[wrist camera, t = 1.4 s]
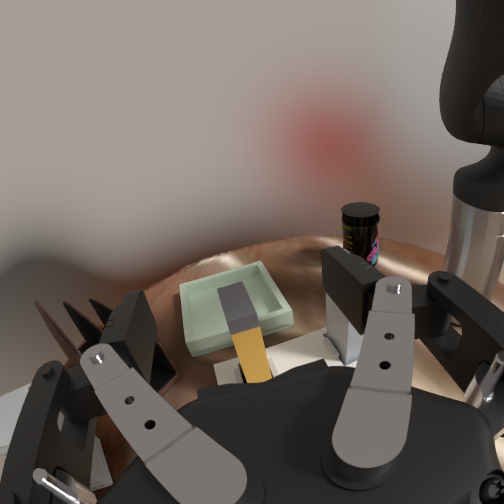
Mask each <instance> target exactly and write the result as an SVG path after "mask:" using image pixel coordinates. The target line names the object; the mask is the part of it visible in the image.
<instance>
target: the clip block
mask: <svg viewBox="0 0 504 504" xmlns="http://www.w3.org/2000/svg"><path fill="white" fill-rule="evenodd" d="M265 350H266V355H267V359H268V363H269V368H270V372H271V376H272V378H273V377H275V376H277V375H279V374H281V373H284V372H286V371H288V370H290V369H291V368H293V367H297V366H300V365H304V364H307V363H310V362H313V361H317V360H320V359H323V358H324V360H325V362H326V363H327V365H328V366H344V365H343V363H342V362H341V361H340V359H339V353H338V352H337V350H336V349H335V347H334V346H333V344H332V343H331V341H330V340H329V339H328V337H327V326H326V327H324V328H321V329H319V330H316V331H314V332H311V333H308V334H306V335H303V336H300V337H297V338H295V339H292V340H289V341H286V342H283V343H280V344H278V345H275V346H272V347H269V348H266V349H265ZM356 364H357V361H355V362H352V363H350V364H348V365H346V366H349V367H355V368H356ZM213 365H214V369H215V374H216V378H217V382H218V385H223V384H228V383H244V381H243V378H242V375H244V372H243V369H242V366H241V364H240V361H239V358H238V357H237V358H234V359H231V360H227V361H224V362H220V363H217V364H213Z"/></svg>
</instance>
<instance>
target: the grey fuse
mask: <svg viewBox="0 0 504 504" xmlns="http://www.w3.org/2000/svg"><path fill="white" fill-rule="evenodd" d="M343 250H345V251H346V252H347V253H348V254H349V253H350V252H348V251H347V250H346V249H343ZM326 318H327V337H328V339H329V340H330V341H331V343H332V344H333V346H334V347H335V349H336V350H337V352H338V353H339V359H340V361H341V362H342V363H343V365H344V366H346V365H348V364H350V363H352V362H355V361H357V360H358V357H359V353H360V349H361V345H362V341H363V337H364V334H363V335H359V333H358V332H357V331H356V329H355V328H354V327H353V326H352V324H351V323H350V322H349V321H348V319H347V318H346V317H345V315H344V314H343V313H342V312H341V310H340V309H339V308H338V307H337V305H336V304H335V303H334V302H333V300H332V299H331V298H330V297H329V295H328V294H327V293H326Z"/></svg>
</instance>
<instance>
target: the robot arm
mask: <svg viewBox="0 0 504 504" xmlns="http://www.w3.org/2000/svg"><path fill="white" fill-rule="evenodd" d="M439 102H440V113H441V117H442V121H443V123H444V125H445V127H446V129H447V131H448V132H449V133H450V134H451V135H452V136H453V137H455V138H457V139H459V140H462V141H465V142H469V143H477V144H483V145H490V146H491V149H490V152H489V154H488V155H487V156H486V157H485V158H483V159H482V160H480V161H479V162H477V163H474V164H472V165H468V166H465V167H462V168H460V169H458V170H457V171H456V173H455V175H454V182H453V198H452V210H451V220H450V228H449V236H448V243H447V249H446V255H445V261H444V266H443V271H436V272H433V273H431V274H430V275H429V277H428V283H427V285H420V286H411V284H410V282H409V281H408V280H406V279H404V278H401V277H396V276H390V277H386V276H384V275H383V274H382V273H381V272H379V271H378V270H377V269H376V268H374V267H372V265H371V264H369V263H368V262H367V261H366V260H364V259H363V258H362V257H360V256H358V255H355V254H352V253H349V254H348V253H347V252H346V251H345V250H343V249H342V248H341V247H340V246H334V247H330V248H325V249H322V251H321V260H322V276H323V285H324V288H325V291H326V293H327V294H328V295H329V297H330V298H331V299H332V300H333V302H334V303H335V304H336V305H337V307H338V308H339V309H340V310H341V312H342V313H343V314H344V315H345V317H346V318H347V319H348V321H349V322H350V323H351V324H352V326H353V327H354V328H355V329H356V331H357V332H358V333H359V335H363V334H364V337H363V341H362V345H361V349H360V353H359V357H358V360H357V364H356V368H355V367H349V366H328V365H327V363H326V362H325V360H324V358H323V359H320V360H317V361H313V362H310V363H307V364H304V365H300V366H297V367H293V368H291V369H290V370H288V371H286V372H284V373H281V374H279V375H277V376H275V377H273V378H271V379H269V380H267V381H264V382H258V383H228V384H223V385H218V386H213V387H208V388H202V389H197V392H198V399H196V400H194V401H192V402H190V403H188V404H186V405H184V406H183V407H181V408H180V409H179V410H177V411H175V410H174V409H173V408H172V407H171V406H170V405H169V404H168V403H167V402H166V401H165V400H164V399H163V398H162V397H161V396H160V395H159V394H158V393H157V392H156V391H155V390H154V389H153V388H152V387H151V386H150V377H151V369H152V361H153V354H154V347H155V341H156V334H157V327H156V322H155V319H154V317H153V314H152V312H151V309H150V307H149V304H148V302H147V299H146V296H145V294H144V292H143V291H142V290H138V291H134V292H130V293H126V294H125V296H124V298H123V301H122V303H121V305H120V306H117V307H116V308H115V309H114V310H113V311H112V312H111V314H110V316H109V319H108V322H107V323H106V326H105V327H106V328H104V331H103V333H102V336H101V338H100V341H99V344H97V345H94V346H92V347H90V348H89V349H87V350H86V351H85V352H84V353H83V355H82V356H81V359H80V364H79V365H77V366H74V367H71V368H68V369H66V370H65V368H64V367H63V365H62V364H61V363H60V362H59V361H50V362H47V363H45V364H44V365H42V366H41V367H40V368H39V369H38V371H37V372H36V374H35V376H34V379H33V381H32V383H31V386H30V388H29V391H28V393H27V396H26V398H25V401H24V403H23V406H22V409H21V411H20V414H19V417H18V420H17V423H16V426H15V429H14V432H13V435H12V438H11V442H10V445H9V448H8V452H7V456H6V460H5V464H4V468H3V473H2V477H1V481H0V504H504V472H503V470H502V468H501V466H500V463H499V461H498V457H497V453H496V448H495V442H494V441H495V440H496V439H498V438H499V437H504V312H502V311H501V310H500V309H499V308H498V307H496V306H495V305H494V304H493V303H491V300H492V297H493V294H494V291H495V288H496V285H497V282H498V279H499V276H500V272H501V269H502V265H503V262H504V0H456V16H455V25H454V31H453V37H452V41H451V44H450V48H449V52H448V55H447V59H446V63H445V66H444V71H443V74H442V79H441V84H440V98H439ZM450 323H454V324H456V325H460V326H461V328H462V336H461V335H460V334H459V333H458V332H457V331H456V330H455V329H454V328H453V327H452V326H451V325H450ZM414 339H420V340H421V341H422V342H423V343H424V345H425V346H426V347H427V348H428V349H429V351H430V352H431V353H432V354H433V355H434V356H435V358H436V359H437V360H438V361H439V362H440V364H441V365H442V366H443V367H444V369H445V370H446V371H447V372H448V373H449V375H450V376H451V377H452V378H453V380H454V381H455V382H456V383H457V385H458V386H459V387H460V389H461V390H462V391H463V392H464V401H465V402H461V401H458V400H454V399H451V398H447V397H444V396H440V395H437V394H434V393H430V392H427V391H424V390H421V389H418V388H414V387H411V384H412V372H413V358H414ZM60 412H61V413H62V414H63V416H64V420H63V424H62V429H61V432H60V430H59V427H58V416H59V413H60ZM107 413H108V414H109V416H110V417H111V419H112V420H113V422H114V423H115V425H116V426H117V427H118V429H119V430H120V432H121V433H122V434H123V436H124V437H125V438H126V440H127V441H128V443H129V444H130V445H131V446H132V448H133V449H134V450H135V452H136V453H137V454H138V456H137V457H136V458H135V459H134V460H133V461H132V463H131V464H130V465H129V466H128V467H127V468H126V469H125V471H124V472H123V473H122V474H121V475H120V476H119V477H118V478H117V480H116V481H115V482H114V483H113V484H112V485H111V486H110V487H109V488H108V490H107V491H106V492H105V493H104V494H103V495H102V496H101V497H100V498H99V500H98V501H97V499H96V496H95V494H94V493H93V491H92V490H91V489H90V481H91V468H92V458H93V449H94V440H95V433H96V426H97V419H98V416H101V415H104V414H107Z"/></svg>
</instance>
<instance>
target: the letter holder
mask: <svg viewBox="0 0 504 504" xmlns="http://www.w3.org/2000/svg"><path fill="white" fill-rule="evenodd" d="M89 301H90V303H91V304H92V306H93V308H94V309H95V311H96V313H97V314H98V316H99V318H100V319H101V321H102V323H103V324H104V326H106V323H107V322H108V319H109V316H110V314H111V312H112V311H113V310H114V309H111V308H110V307H109V306H107V305H105V304H104V303H102V302H100V301H98V300H96V299H94V298H90V299H89ZM34 304H35V305H36V307H37V309H38V311H39V312H40V314H41V315H42V318H43V319H44V321H45V323H46V325H47V327H48V328H49V330H50V331H51V333H52V335H53V336H54V338H55V339H56V341H57V342H58V344H59V345H60V347H61V348H62V350H63V351H64V353H65V354H66V356H67V357H68V359H69V360H70V361H71V362H72V363H73V365H74V366H77V365H79V364H80V359H81V356H82V355H83V353H84V352H85V351H86V350H87V349H89V348H90V347H92V346H94V345H97V344H99V341H100V338H101V336H102V333H103V331H104V328H106V327H104V328H103V329H101V328H100V327H98V326H97V325H96V324H95V323H94V322H93V321H91V320H90V319H89V318H88V317H87V316H85V315H84V314H83V313H82V312H81V311H79V310H78V309H77V308H76V307H74V306H73V305H71V304H70V303H69V302H67V301H65V300H64V302H63V304H64V306H65V308H66V310H67V311H68V313H69V315H70V317H71V318H72V320H73V321H74V323H75V325H76V326H77V328H78V329H79V331H80V333H81V334H82V336H83V337H84V339H85V340H86V341H87V343H85V344H84V345H83V346H82V347H81V348H80V349H77V348H76V347H75V345H74V344H73V343H72V342H71V340H69V338H68V337H67V336H66V335H65V334H64V332H63V331H62V329H61V328H60V327H59V326H58V325H57V323H56V322H55V321H54V320H53V318H52V317H51V316H50V315H49V314H48V312H47V311H46V310H45V309H44V308H43V307H42V306H41V304H40V303H39V302H38V301H35V302H34ZM180 377H181V375H180V373H179V371H178V369H177V368H176V366H175V365H174V363H173V362H172V360H171V358H170V357H169V355H168V354H167V352H166V350H165V348H164V347H163V345H162V344H161V343H160V341H159V340H158V339H157V338H156V341H155V347H154V354H153V361H152V369H151V377H150V386H151V387H152V388H153V389H154V390H155V391H156V392H157V393H158V394H159V395H160V396H161V397H162V396H163V395H164V394H165V393H166V392H167V391H168V390H169V389H170V388H171V387H172V386H173V385H174V384H175V383H176V382H177V380H179V378H180Z"/></svg>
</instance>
